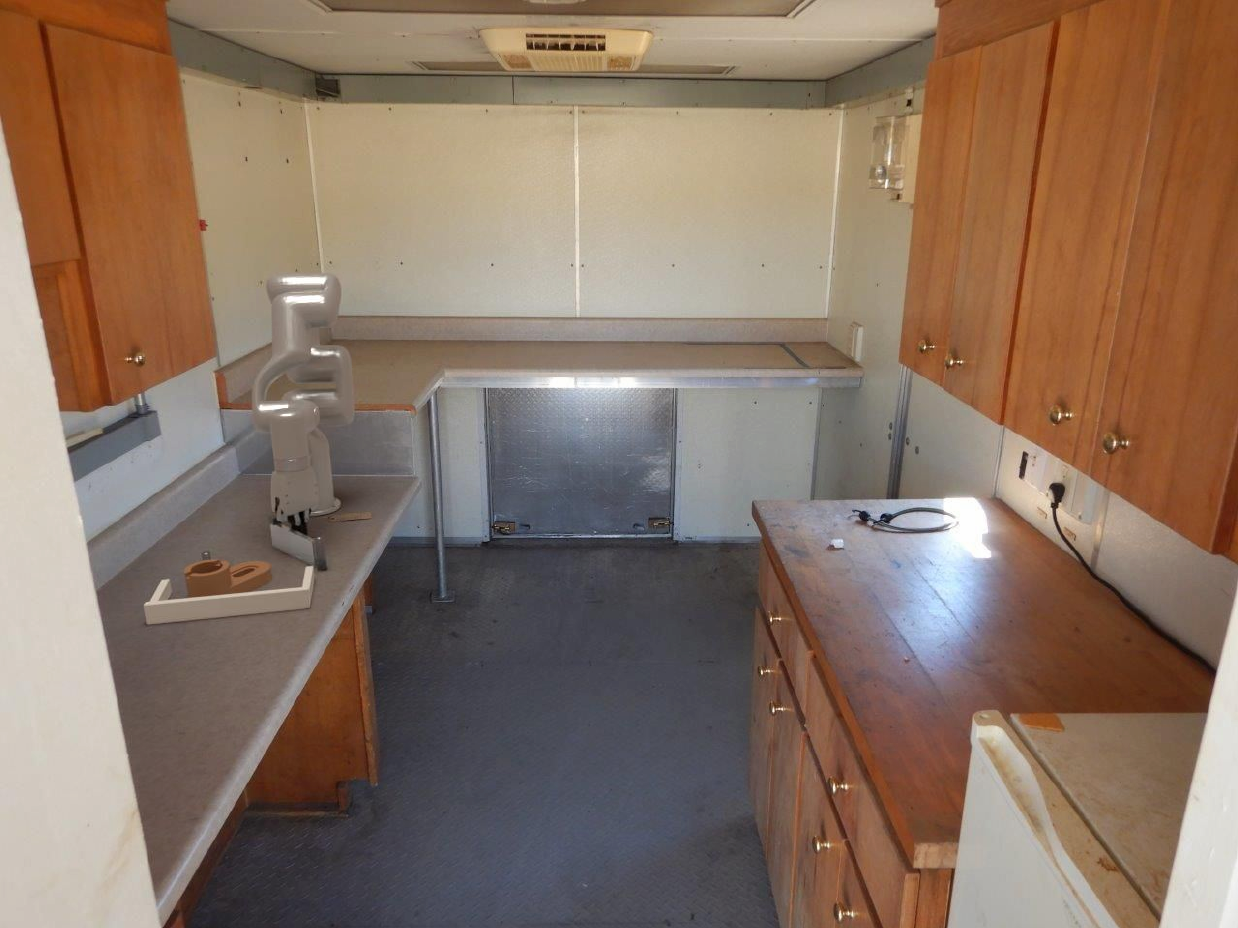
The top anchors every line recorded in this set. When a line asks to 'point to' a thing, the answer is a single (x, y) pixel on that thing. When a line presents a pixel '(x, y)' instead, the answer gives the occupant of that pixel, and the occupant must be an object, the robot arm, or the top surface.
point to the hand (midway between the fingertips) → (300, 538)
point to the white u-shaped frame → (226, 602)
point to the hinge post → (320, 553)
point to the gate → (292, 542)
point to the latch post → (206, 555)
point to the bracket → (224, 577)
